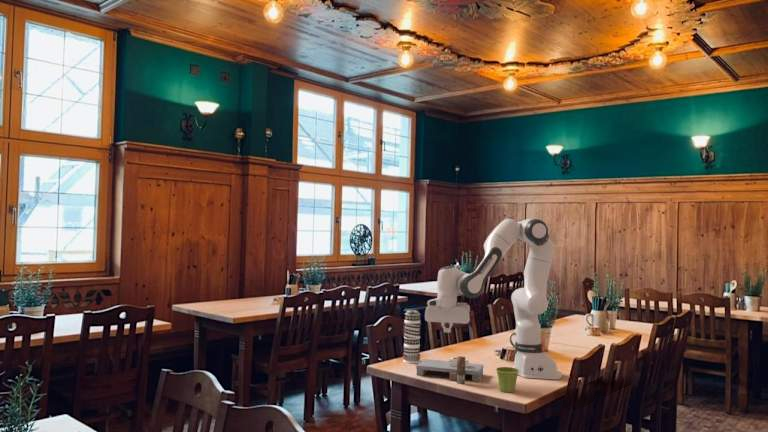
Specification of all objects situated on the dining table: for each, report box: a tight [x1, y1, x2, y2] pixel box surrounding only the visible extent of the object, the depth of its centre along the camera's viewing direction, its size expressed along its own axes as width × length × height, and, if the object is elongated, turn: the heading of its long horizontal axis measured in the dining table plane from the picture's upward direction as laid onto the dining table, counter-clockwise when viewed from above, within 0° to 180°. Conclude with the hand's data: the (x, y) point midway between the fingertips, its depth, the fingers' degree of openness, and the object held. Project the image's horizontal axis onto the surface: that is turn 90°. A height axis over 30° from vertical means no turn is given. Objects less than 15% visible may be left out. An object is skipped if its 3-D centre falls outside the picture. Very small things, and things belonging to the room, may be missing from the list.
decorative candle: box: [402, 309, 422, 364], centre depth 284 cm, size 9×9×25 cm
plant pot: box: [495, 366, 519, 394], centre depth 236 cm, size 9×9×9 cm
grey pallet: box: [415, 358, 484, 382], centre depth 259 cm, size 28×18×4 cm, turn 72°
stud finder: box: [448, 356, 470, 367], centre depth 258 cm, size 8×4×3 cm, turn 72°
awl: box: [456, 355, 466, 385], centre depth 246 cm, size 4×4×11 cm
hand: (447, 332), depth 260 cm, fingers closed
